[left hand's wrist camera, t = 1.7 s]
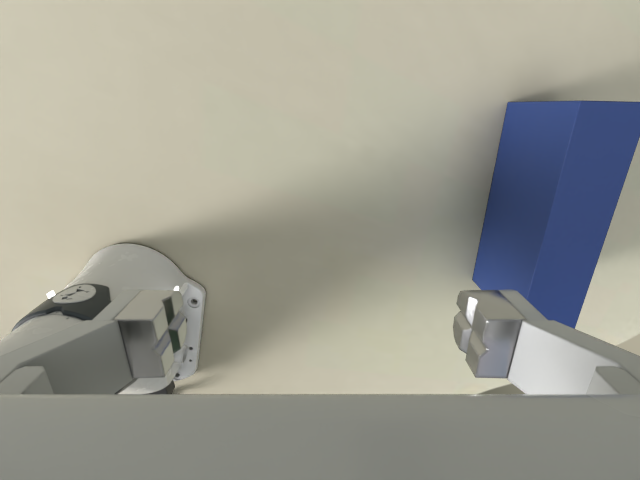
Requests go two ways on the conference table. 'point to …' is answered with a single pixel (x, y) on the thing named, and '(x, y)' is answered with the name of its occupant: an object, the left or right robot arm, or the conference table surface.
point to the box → (554, 199)
